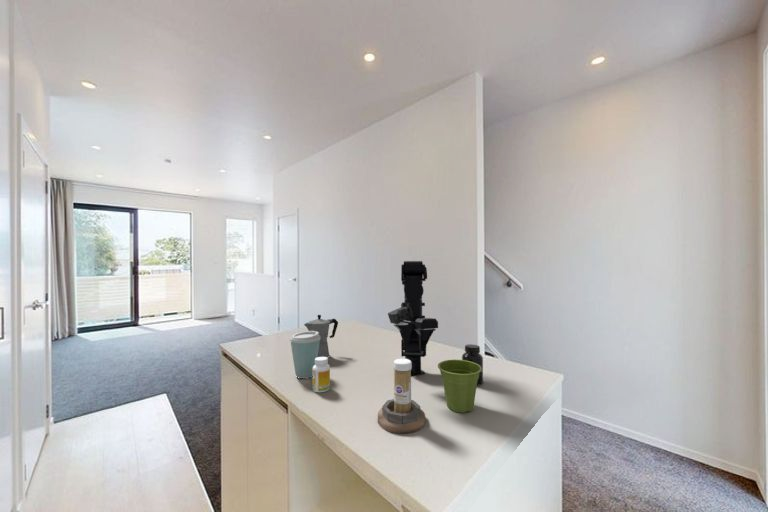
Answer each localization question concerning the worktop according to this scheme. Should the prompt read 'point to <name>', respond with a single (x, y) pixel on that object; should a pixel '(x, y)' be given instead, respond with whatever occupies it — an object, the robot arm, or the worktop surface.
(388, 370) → the worktop surface
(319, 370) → the supplement bottle
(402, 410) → the sprinkles bottle
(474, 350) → the supplement bottle
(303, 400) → the worktop surface
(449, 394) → the plant pot
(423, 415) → the brown grey round base
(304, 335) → the disposable coffee cup
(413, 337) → the robot arm
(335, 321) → the coffeepot
